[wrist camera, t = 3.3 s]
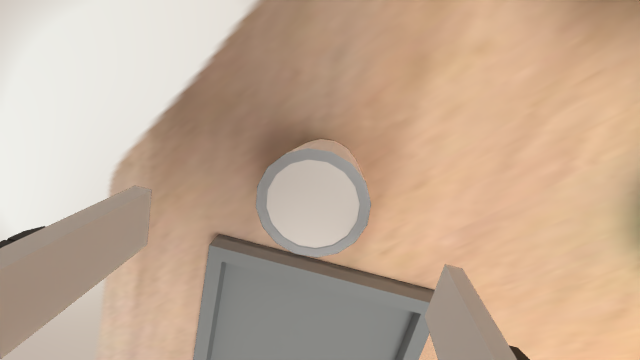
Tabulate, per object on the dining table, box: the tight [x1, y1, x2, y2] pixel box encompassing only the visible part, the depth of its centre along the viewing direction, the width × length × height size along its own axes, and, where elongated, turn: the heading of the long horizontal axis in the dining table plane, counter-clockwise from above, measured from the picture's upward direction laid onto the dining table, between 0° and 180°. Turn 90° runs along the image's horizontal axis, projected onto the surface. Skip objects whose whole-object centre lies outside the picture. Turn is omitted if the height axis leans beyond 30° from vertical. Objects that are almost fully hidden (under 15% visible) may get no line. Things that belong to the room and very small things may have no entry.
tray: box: [193, 234, 435, 360], centre depth 30 cm, size 19×19×2 cm
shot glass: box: [256, 139, 371, 257], centre depth 23 cm, size 7×7×7 cm
